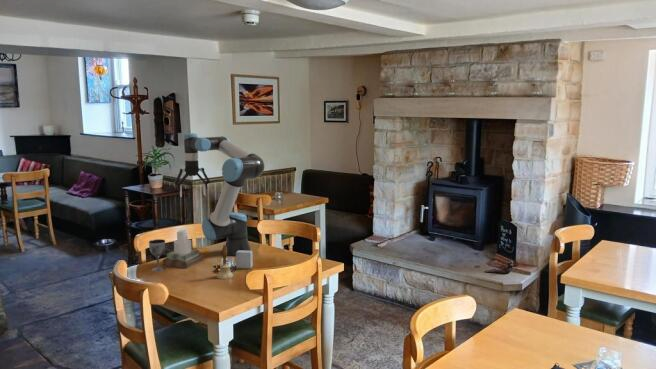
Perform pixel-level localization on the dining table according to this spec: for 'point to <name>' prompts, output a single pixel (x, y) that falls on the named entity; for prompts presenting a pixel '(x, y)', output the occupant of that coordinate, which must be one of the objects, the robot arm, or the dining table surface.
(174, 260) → the tiered stand
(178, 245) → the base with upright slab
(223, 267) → the hand bell
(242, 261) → the medicine box
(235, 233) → the robot arm
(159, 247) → the wine glass
